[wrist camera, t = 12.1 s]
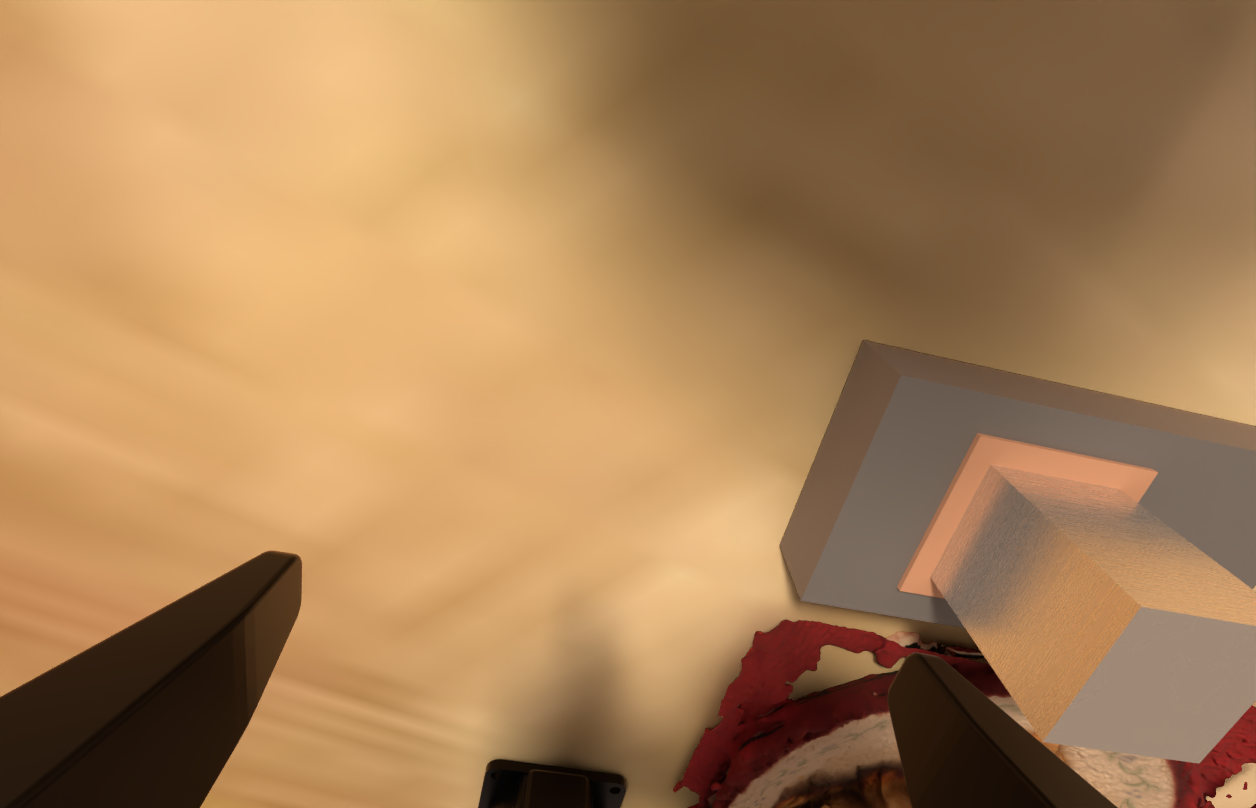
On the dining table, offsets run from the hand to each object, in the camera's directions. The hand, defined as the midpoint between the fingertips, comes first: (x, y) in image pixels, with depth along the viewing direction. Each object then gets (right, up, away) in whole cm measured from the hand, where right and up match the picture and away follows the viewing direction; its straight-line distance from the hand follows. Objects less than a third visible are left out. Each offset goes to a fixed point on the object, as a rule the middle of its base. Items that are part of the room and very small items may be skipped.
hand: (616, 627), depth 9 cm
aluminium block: (+13, -1, +11) cm, 17 cm away
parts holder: (+19, -1, +15) cm, 24 cm away
